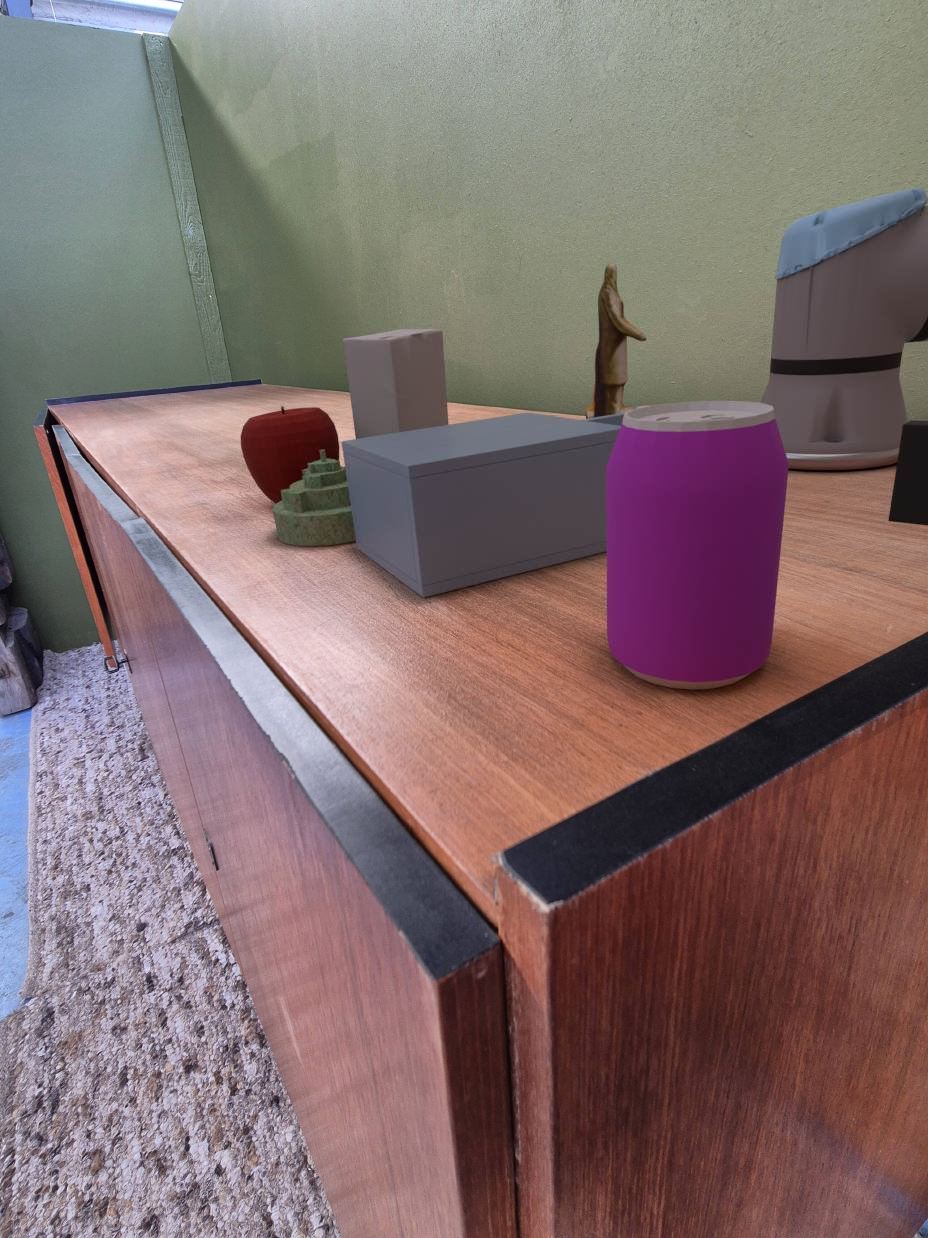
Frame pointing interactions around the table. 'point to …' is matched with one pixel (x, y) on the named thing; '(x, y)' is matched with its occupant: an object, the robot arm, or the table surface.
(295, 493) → the decorative artifact
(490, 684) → the table surface
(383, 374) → the cosmetic box
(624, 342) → the figurine
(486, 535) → the cabinet
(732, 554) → the beverage can
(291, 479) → the apple
